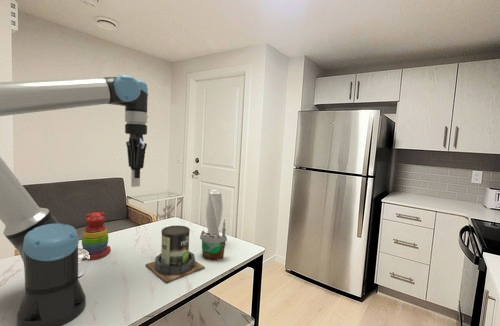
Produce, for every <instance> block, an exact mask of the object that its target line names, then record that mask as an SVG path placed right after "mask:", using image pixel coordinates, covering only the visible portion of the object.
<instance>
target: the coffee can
mask: <svg viewBox="0 0 500 326" xmlns="http://www.w3.org/2000/svg"><path fill="white" fill-rule="evenodd" d="M190 231H191V229H190V227H188V226H185V225H170V226H166V227H164V228H162V229H161V252H160V254H161V263H162V264H164V265H169V266H174V265H182V264H184V263H187V262H188V258H189V252H190V250H189V248H190Z"/></svg>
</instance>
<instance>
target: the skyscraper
mask: <svg viewBox="0 0 500 326" xmlns="http://www.w3.org/2000/svg"><path fill="white" fill-rule="evenodd" d="M207 189H208V193H207V199H206V200H207V201H206V207H205V218H206V219H205V221H206V225H207V232H206V233H209V234H216V235H218V236H222V237H223V236H226V223H225V221H226V219H223V226H222V229H221V230H222V231H221V232H222V233H221V234H222V235H221V234H220V230H219V227H220V224H221V221H222V216H223V195H222V192H221V190H219V189H218V188H213V187H210V188H207Z"/></svg>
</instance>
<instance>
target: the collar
mask: <svg viewBox="0 0 500 326" xmlns="http://www.w3.org/2000/svg"><path fill="white" fill-rule="evenodd" d="M195 257H196V256H195V254H194V253H193V252H191V251H189V258H188V261H189V262H187V263H184V264H182V265H174V266H169V265H164V264H162V263H161V253H159V254H158V255H156V256H155V260H154V261H155V270H156V271H157V272H158V273H160V274H164V275H181V274H184V273H186V272H189V271H191V270H192V268H193V267H194V266H195V261H196V259H195Z"/></svg>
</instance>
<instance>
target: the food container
mask: <svg viewBox="0 0 500 326" xmlns="http://www.w3.org/2000/svg"><path fill="white" fill-rule="evenodd" d="M199 239H200V240H201V249H202V250H201V251H202V254H201V255H202V258H203V259H204V260H206V261H211V262H212V261H213V262H214V261H219V260H222V259H224V255H225V246H226V242H227V241H228V237H227V235H225V236H223V237H222V235H220V236H218V235H216V234H209V233H207V232H206V231H205V230H202V231H201V233H200V236H199Z"/></svg>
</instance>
